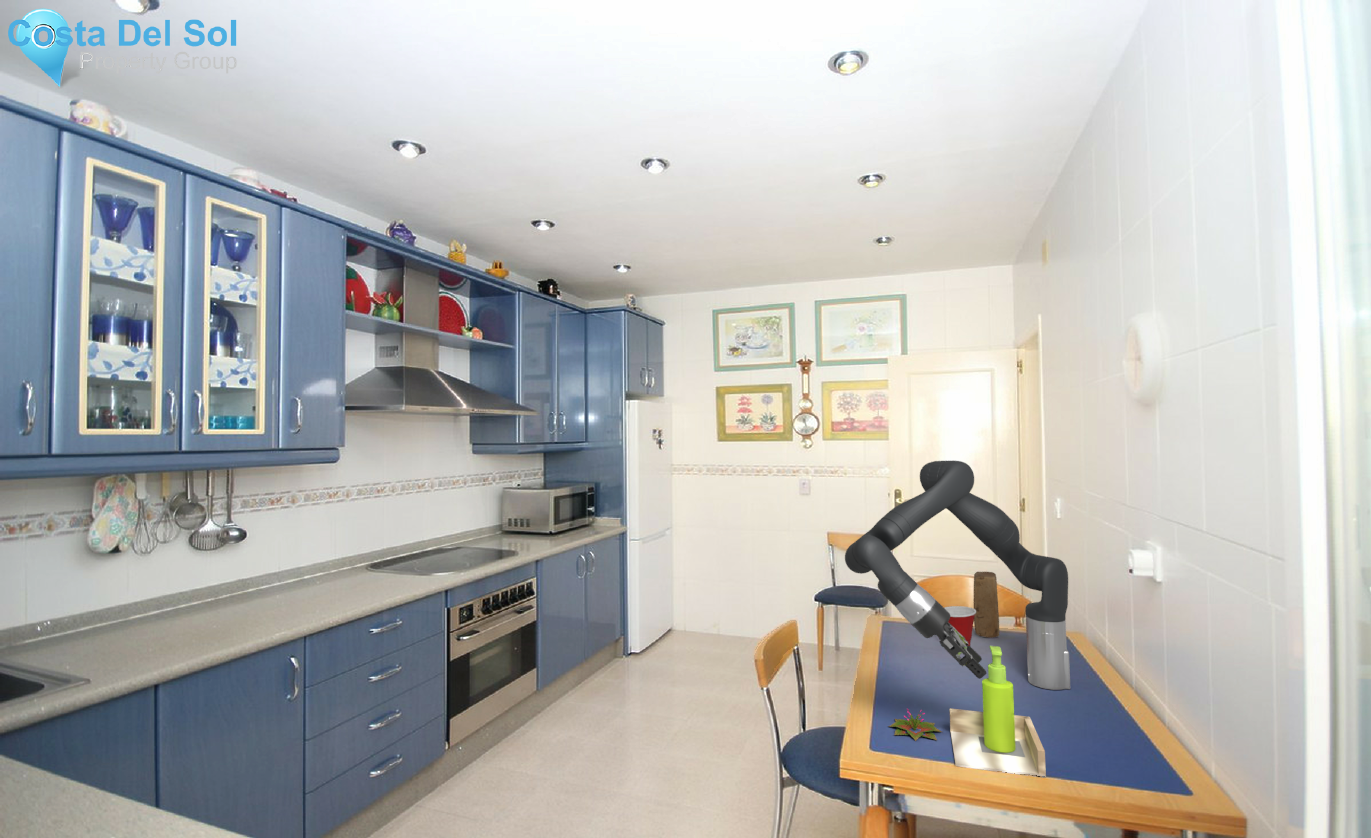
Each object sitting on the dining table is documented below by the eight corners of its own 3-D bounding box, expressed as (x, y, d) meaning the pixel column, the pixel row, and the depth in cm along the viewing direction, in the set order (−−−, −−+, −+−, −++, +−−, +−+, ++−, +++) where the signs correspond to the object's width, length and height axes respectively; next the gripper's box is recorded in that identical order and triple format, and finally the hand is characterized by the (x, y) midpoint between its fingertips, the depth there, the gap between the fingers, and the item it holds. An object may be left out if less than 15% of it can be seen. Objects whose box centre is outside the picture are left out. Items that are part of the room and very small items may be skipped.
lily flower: (886, 740, 142) (885, 719, 142) (887, 717, 153) (887, 698, 153) (945, 747, 138) (944, 725, 138) (942, 723, 149) (941, 703, 149)
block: (999, 640, 207) (997, 577, 207) (974, 637, 210) (971, 575, 211) (999, 630, 216) (997, 570, 217) (975, 628, 220) (972, 568, 220)
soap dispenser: (1012, 739, 139) (1008, 645, 139) (1017, 754, 132) (1013, 655, 133) (982, 736, 140) (979, 642, 141) (986, 750, 134) (982, 652, 135)
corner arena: (1030, 740, 139) (1029, 716, 139) (1045, 777, 124) (1044, 751, 124) (950, 731, 144) (949, 708, 145) (955, 766, 129) (954, 740, 129)
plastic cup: (935, 642, 205) (934, 604, 206) (971, 643, 204) (970, 605, 204) (944, 654, 195) (943, 613, 195) (982, 655, 193) (981, 614, 194)
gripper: (936, 607, 134) (999, 668, 130) (933, 591, 147) (990, 646, 143) (909, 631, 135) (971, 692, 131) (908, 613, 149) (964, 668, 145)
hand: (980, 668), depth 137 cm, fingers open, 8 cm apart
